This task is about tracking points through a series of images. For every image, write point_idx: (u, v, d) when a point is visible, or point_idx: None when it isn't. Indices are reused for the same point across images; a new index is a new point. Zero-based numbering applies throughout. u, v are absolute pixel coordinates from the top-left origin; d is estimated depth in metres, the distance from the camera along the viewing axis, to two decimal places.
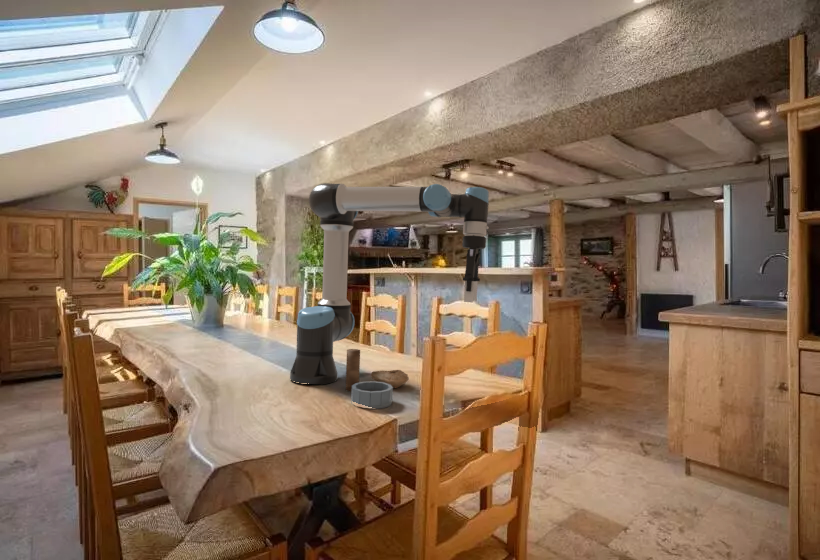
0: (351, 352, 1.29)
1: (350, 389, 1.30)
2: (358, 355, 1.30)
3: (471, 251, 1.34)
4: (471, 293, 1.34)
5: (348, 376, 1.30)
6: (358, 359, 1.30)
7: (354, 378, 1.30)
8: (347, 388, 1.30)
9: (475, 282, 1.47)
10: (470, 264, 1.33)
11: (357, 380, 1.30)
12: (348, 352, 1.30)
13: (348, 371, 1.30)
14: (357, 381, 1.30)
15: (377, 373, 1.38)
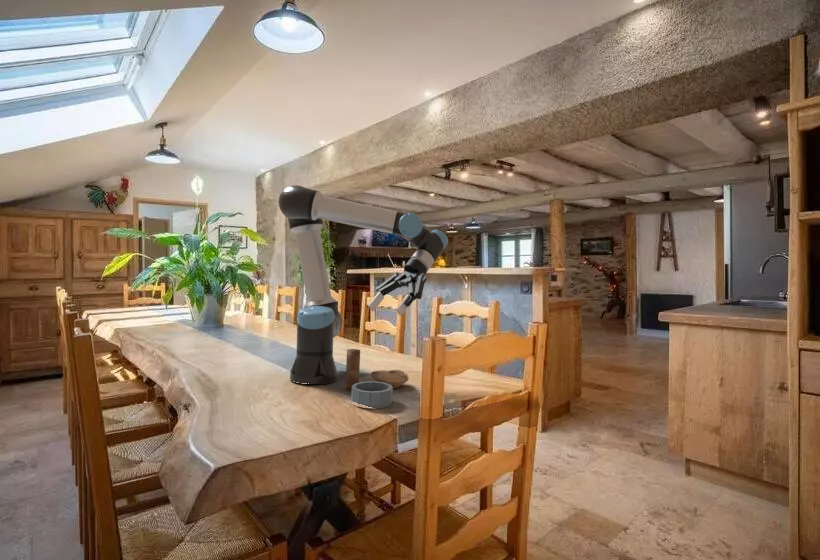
0: (351, 352, 1.29)
1: (350, 389, 1.30)
2: (358, 355, 1.30)
3: (424, 277, 1.42)
4: (405, 308, 1.36)
5: (348, 376, 1.30)
6: (358, 359, 1.30)
7: (354, 378, 1.30)
8: (347, 388, 1.30)
9: (382, 297, 1.47)
10: (421, 286, 1.39)
11: (357, 380, 1.30)
12: (348, 352, 1.30)
13: (348, 371, 1.30)
14: (357, 381, 1.30)
15: (377, 373, 1.38)
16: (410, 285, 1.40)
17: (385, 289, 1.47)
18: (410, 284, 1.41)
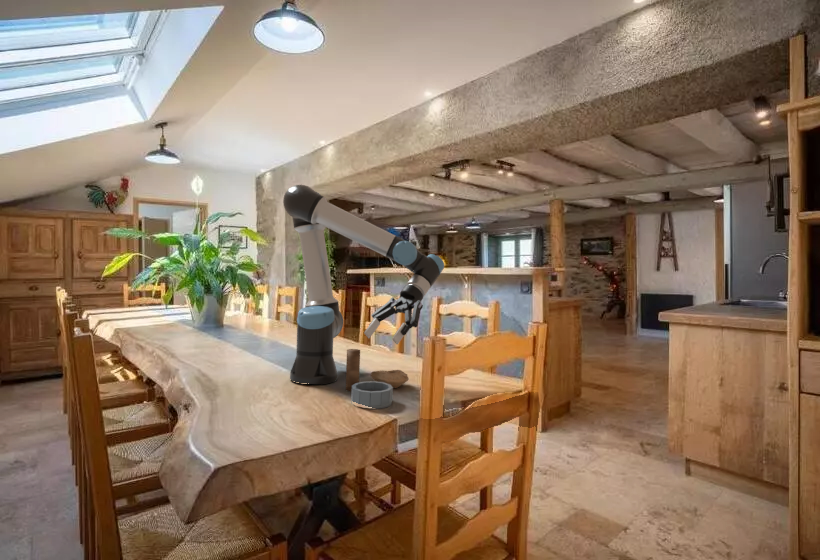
0: (351, 352, 1.29)
1: (350, 389, 1.30)
2: (358, 355, 1.30)
3: (420, 304, 1.41)
4: (401, 336, 1.35)
5: (348, 376, 1.30)
6: (358, 359, 1.30)
7: (354, 378, 1.30)
8: (347, 388, 1.30)
9: (378, 323, 1.46)
10: (417, 314, 1.38)
11: (357, 380, 1.30)
12: (348, 352, 1.30)
13: (348, 371, 1.30)
14: (357, 381, 1.30)
15: (377, 373, 1.38)
16: (406, 312, 1.40)
17: (381, 315, 1.46)
18: (406, 311, 1.40)
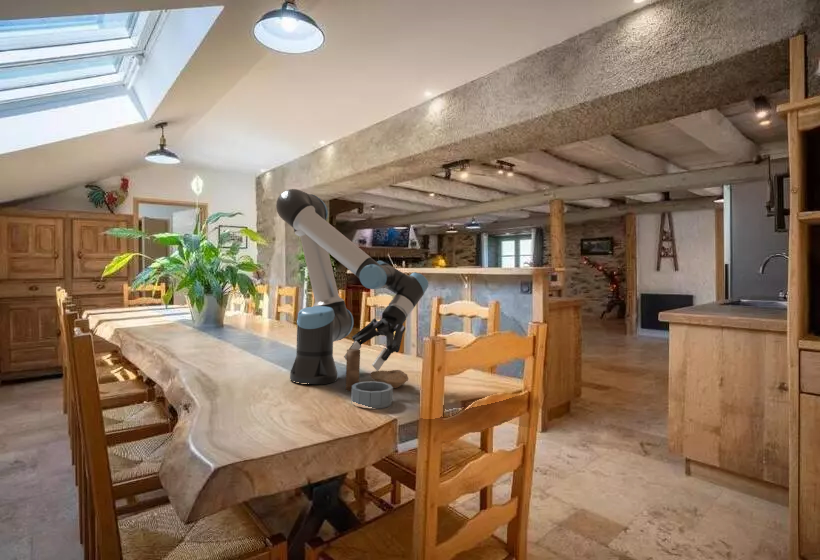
0: (351, 352, 1.29)
1: (350, 389, 1.30)
2: (358, 355, 1.30)
3: (403, 327, 1.35)
4: (382, 362, 1.29)
5: (348, 376, 1.30)
6: (358, 359, 1.30)
7: (354, 378, 1.30)
8: (347, 388, 1.30)
9: (359, 346, 1.40)
10: (399, 338, 1.32)
11: (357, 379, 1.30)
12: (348, 352, 1.30)
13: (348, 371, 1.30)
14: (357, 381, 1.30)
15: (377, 373, 1.38)
16: (388, 336, 1.33)
17: (362, 338, 1.40)
18: (388, 335, 1.33)
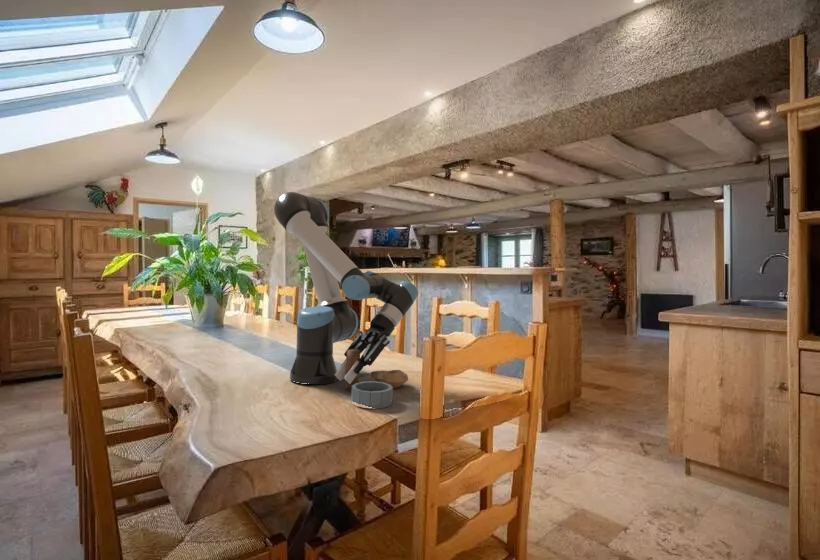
0: (351, 352, 1.29)
1: (350, 389, 1.30)
2: (358, 355, 1.30)
3: (386, 341, 1.32)
4: (354, 375, 1.29)
5: None
6: None
7: (355, 378, 1.30)
8: (347, 388, 1.30)
9: None
10: (377, 351, 1.30)
11: (357, 380, 1.30)
12: (348, 352, 1.30)
13: (348, 371, 1.30)
14: (357, 381, 1.30)
15: (377, 373, 1.38)
16: (367, 347, 1.32)
17: None
18: (368, 346, 1.32)
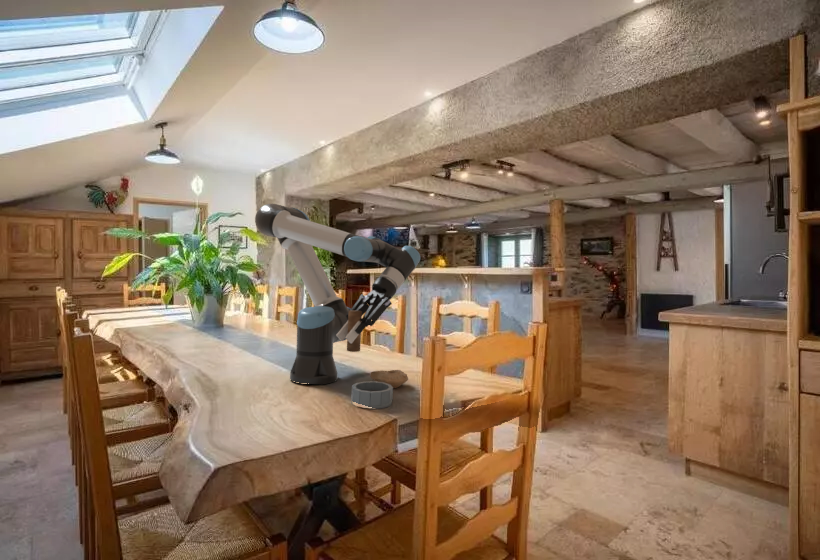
0: (353, 312, 1.29)
1: (351, 349, 1.29)
2: (360, 316, 1.30)
3: (388, 302, 1.32)
4: (356, 335, 1.28)
5: None
6: None
7: (356, 338, 1.29)
8: (348, 348, 1.30)
9: None
10: (379, 312, 1.30)
11: (358, 340, 1.30)
12: (350, 312, 1.30)
13: (349, 331, 1.30)
14: (358, 342, 1.30)
15: (376, 373, 1.38)
16: (369, 309, 1.32)
17: None
18: (370, 307, 1.32)
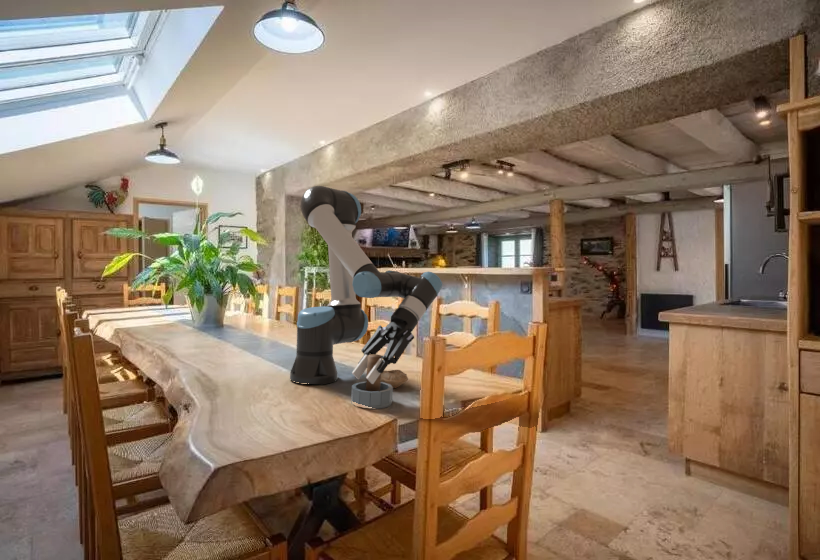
0: (373, 358, 1.17)
1: None
2: None
3: (410, 336, 1.20)
4: (378, 374, 1.16)
5: (368, 384, 1.17)
6: None
7: (376, 387, 1.17)
8: None
9: None
10: (402, 348, 1.18)
11: (378, 389, 1.18)
12: (369, 358, 1.17)
13: None
14: (378, 390, 1.18)
15: None
16: (390, 344, 1.20)
17: (373, 349, 1.23)
18: (391, 342, 1.20)
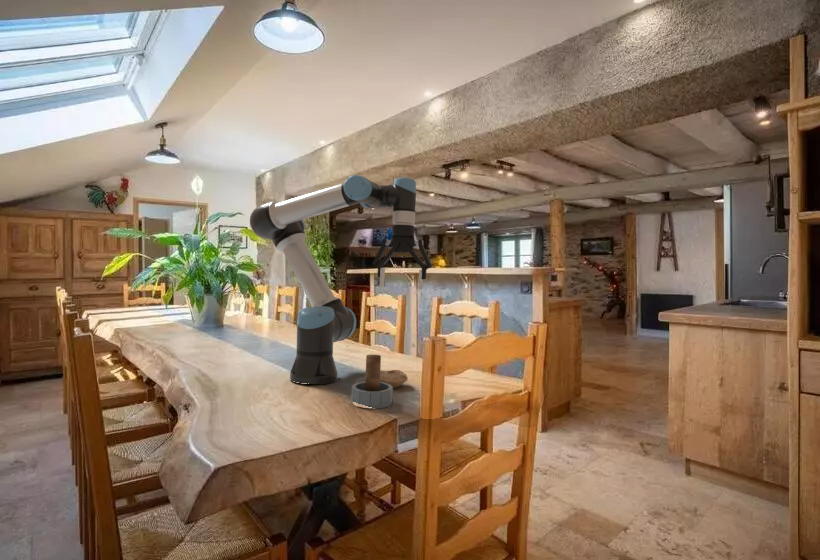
0: (371, 358, 1.17)
1: None
2: (379, 361, 1.18)
3: (422, 242, 1.44)
4: (422, 280, 1.45)
5: (368, 384, 1.17)
6: (379, 366, 1.18)
7: (375, 386, 1.17)
8: None
9: (384, 269, 1.48)
10: (426, 254, 1.44)
11: (378, 388, 1.18)
12: (368, 358, 1.18)
13: (368, 379, 1.17)
14: (378, 390, 1.18)
15: None
16: (415, 256, 1.43)
17: (384, 262, 1.47)
18: (414, 255, 1.43)
